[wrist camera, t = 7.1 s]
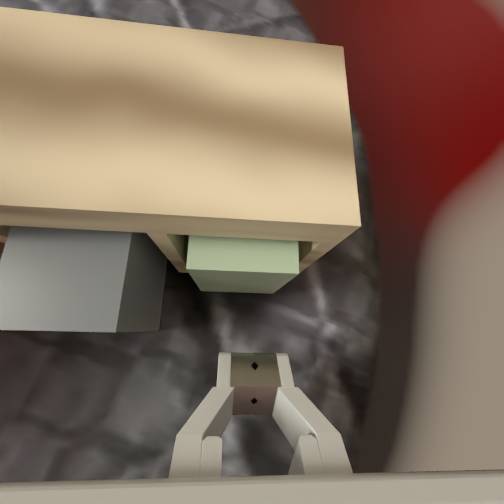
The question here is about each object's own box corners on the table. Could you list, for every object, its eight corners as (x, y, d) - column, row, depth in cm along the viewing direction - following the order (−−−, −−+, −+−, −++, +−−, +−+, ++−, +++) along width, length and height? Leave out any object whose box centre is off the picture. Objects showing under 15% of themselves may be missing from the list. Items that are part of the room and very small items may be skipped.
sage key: (272, 293, 18) (299, 273, 12) (201, 291, 18) (186, 269, 11) (272, 203, 20) (295, 142, 14) (208, 199, 20) (198, 134, 13)
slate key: (159, 331, 17) (115, 332, 10) (78, 329, 17) (-21, 329, 10) (170, 230, 19) (140, 177, 12) (99, 226, 19) (28, 169, 12)
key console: (294, 277, 19) (361, 226, 10) (-52, 262, 17) (-394, 181, 8) (292, 170, 22) (343, 46, 12) (-11, 147, 20) (-230, -21, 10)
